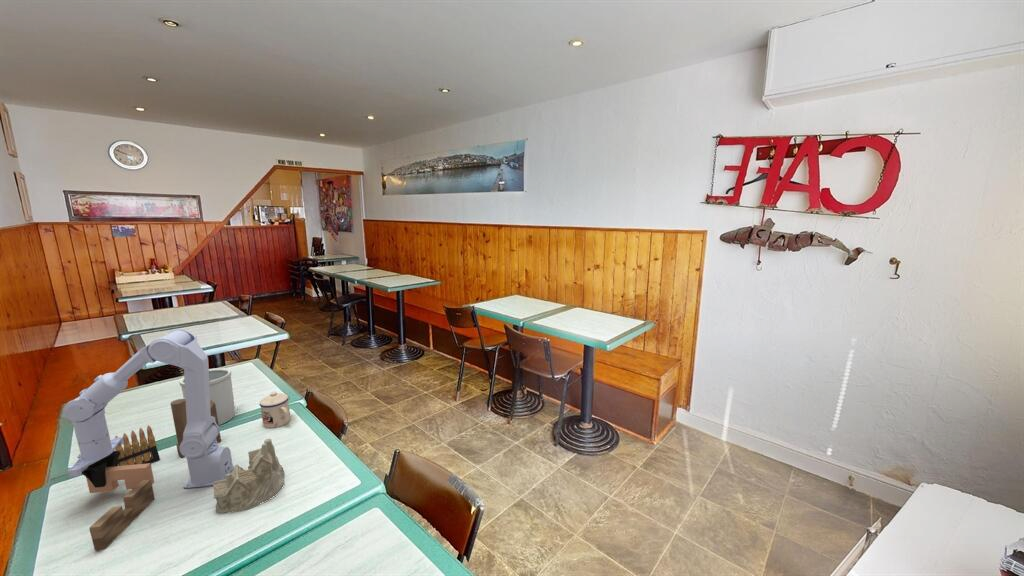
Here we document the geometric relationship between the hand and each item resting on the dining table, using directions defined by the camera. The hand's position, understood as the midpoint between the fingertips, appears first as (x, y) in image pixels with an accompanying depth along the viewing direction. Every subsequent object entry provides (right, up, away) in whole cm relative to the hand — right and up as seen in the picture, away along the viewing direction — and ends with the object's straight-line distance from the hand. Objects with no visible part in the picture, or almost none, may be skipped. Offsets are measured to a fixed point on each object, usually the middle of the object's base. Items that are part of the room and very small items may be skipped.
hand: (104, 483), depth 106 cm
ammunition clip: (-3, -2, +12) cm, 13 cm away
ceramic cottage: (+38, -4, +3) cm, 39 cm away
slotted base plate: (+15, -6, -9) cm, 18 cm away
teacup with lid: (+26, +3, +37) cm, 45 cm away
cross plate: (+4, -2, +1) cm, 4 cm away
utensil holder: (-1, +4, +39) cm, 40 cm away
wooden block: (+8, 0, +22) cm, 24 cm away
